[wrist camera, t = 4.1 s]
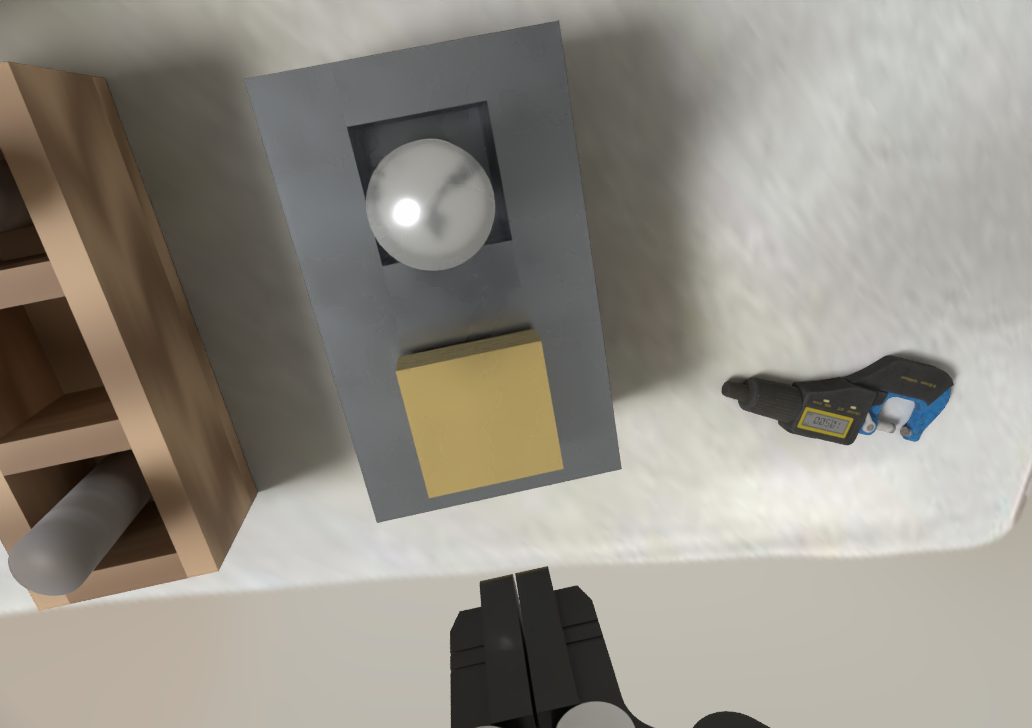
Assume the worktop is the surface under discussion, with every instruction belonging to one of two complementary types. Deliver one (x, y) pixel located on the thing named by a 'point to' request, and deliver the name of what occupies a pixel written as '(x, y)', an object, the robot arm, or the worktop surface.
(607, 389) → the tool block
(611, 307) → the worktop surface
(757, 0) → the worktop surface
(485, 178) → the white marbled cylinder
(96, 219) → the bit rack
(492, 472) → the yellow square-headed peg
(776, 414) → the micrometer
